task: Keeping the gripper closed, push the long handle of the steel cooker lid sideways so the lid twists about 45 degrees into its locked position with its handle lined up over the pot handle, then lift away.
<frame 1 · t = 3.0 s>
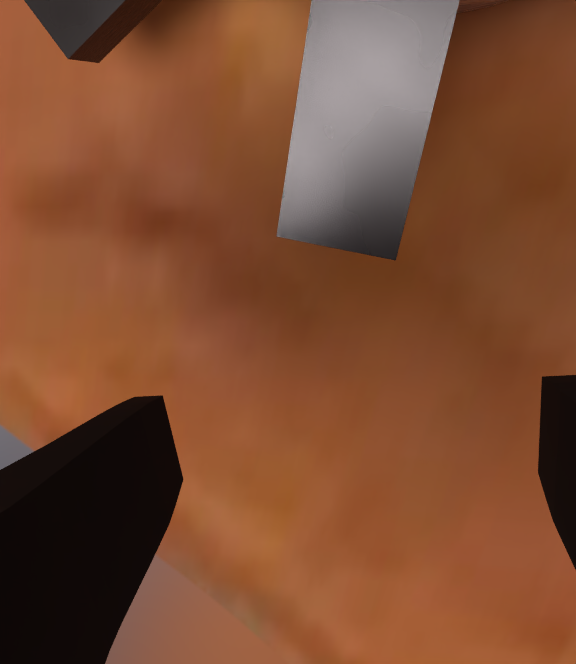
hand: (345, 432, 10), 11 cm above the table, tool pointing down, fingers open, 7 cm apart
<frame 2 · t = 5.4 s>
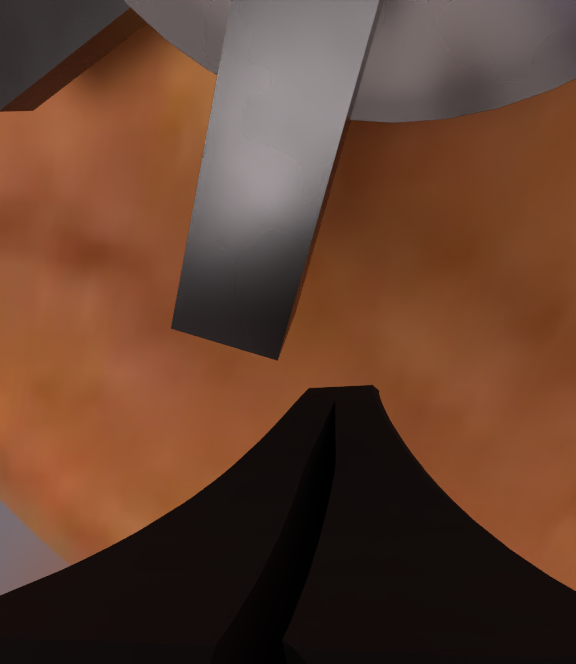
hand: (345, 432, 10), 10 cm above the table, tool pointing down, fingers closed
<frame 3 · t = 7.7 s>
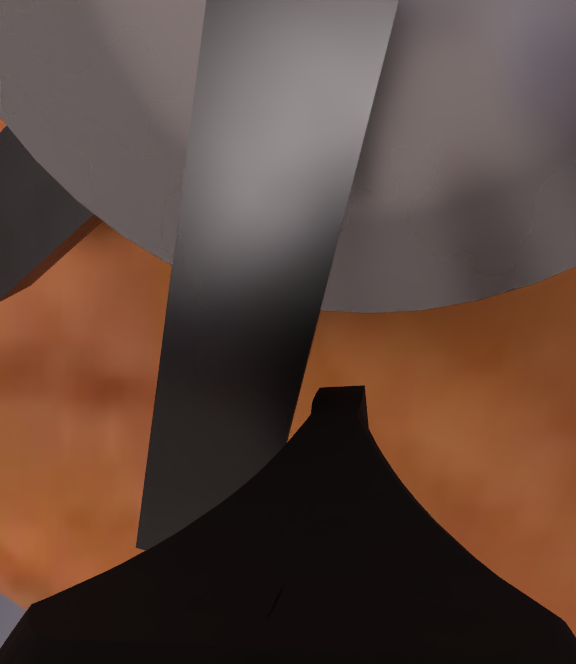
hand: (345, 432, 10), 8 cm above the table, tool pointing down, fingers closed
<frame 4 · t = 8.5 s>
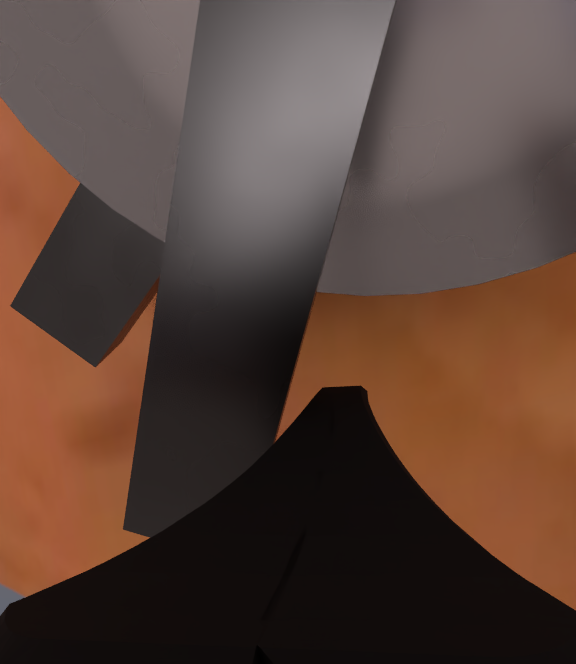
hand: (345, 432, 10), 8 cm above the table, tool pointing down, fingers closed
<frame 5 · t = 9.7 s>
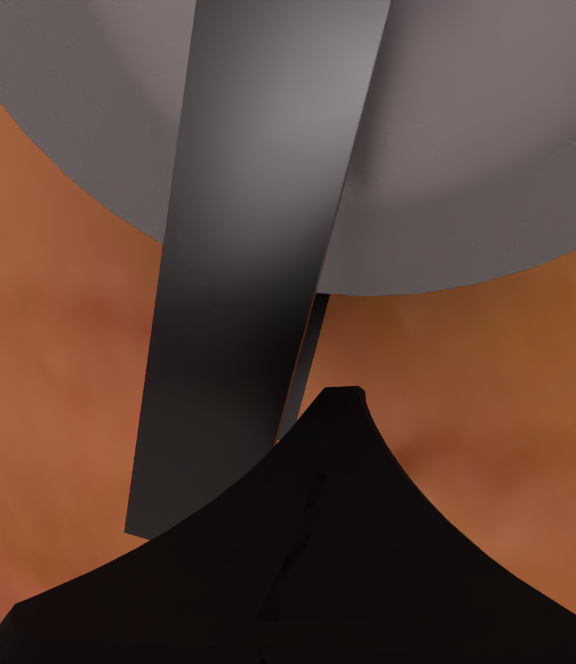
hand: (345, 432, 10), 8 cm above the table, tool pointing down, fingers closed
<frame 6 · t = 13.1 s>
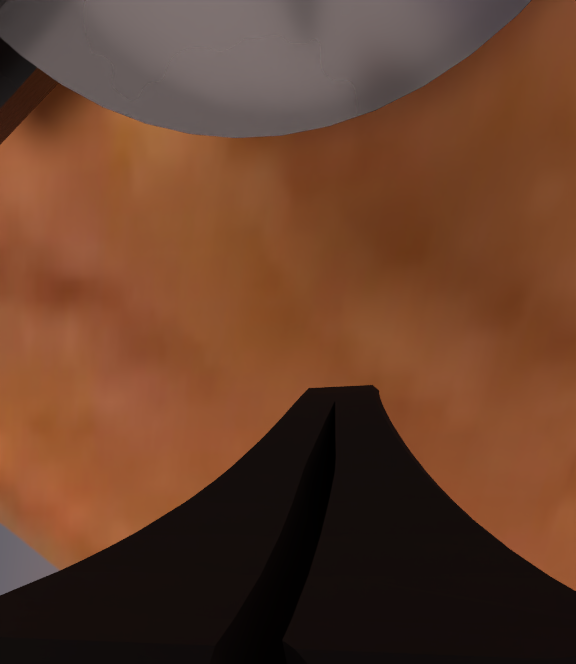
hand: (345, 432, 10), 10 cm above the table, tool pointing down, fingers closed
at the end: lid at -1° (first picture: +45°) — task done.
